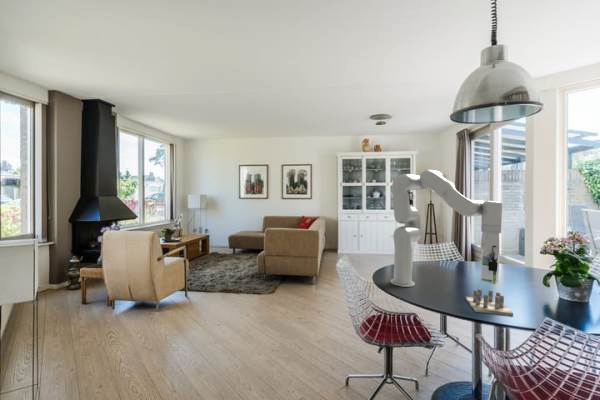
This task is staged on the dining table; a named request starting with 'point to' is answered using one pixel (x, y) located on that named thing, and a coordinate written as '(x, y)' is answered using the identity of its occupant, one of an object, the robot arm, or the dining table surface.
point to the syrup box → (485, 273)
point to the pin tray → (488, 303)
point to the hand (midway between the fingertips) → (489, 268)
